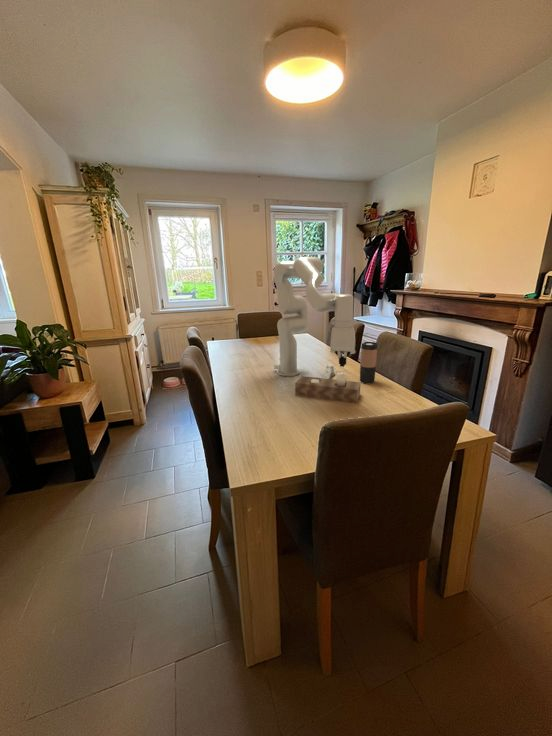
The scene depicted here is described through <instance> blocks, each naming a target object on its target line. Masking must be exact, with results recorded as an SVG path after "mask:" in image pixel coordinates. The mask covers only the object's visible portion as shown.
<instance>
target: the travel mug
mask: <svg viewBox="0 0 552 736" xmlns="http://www.w3.org/2000/svg"><path fill="white" fill-rule="evenodd" d="M360 349H361V350H360V361H359V362H360V363H359V365H360V366H359V382H360V381H361V383H362V382H363V383H362V384H366V383H371V384H374V383H375V378H376V370H377V355H378V343H377V342H376V341H375V342H374V341H364V342H363V343H361V348H360ZM373 382H374V383H373Z"/></svg>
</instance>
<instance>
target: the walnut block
mask: <svg viewBox="0 0 552 736" xmlns="http://www.w3.org/2000/svg"><path fill="white" fill-rule="evenodd" d="M312 379H318V380H319V383H311V380H312ZM336 380H337V379H332V378H330V379H324V378H322V377H314V376H313V377H312V376H305V375H301V376H300V377H299V378H298V379H297V380H296V381H295V382H294V385H295V386H294V393H295V394H294V396H302V397H308V398H309V397H310V398H316V399H323V400H324V399H325V400H330V399H331V400H332V401H337V400H339V402H345V401H348V402H347V403H353V402H354V404H357V403H358V401H359V398H360V396H361V385H362V384H361V383H362V382H360V381H353V380H352V381H351V380H346V382H345V386H337V385H336ZM331 400H330V401H331Z"/></svg>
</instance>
